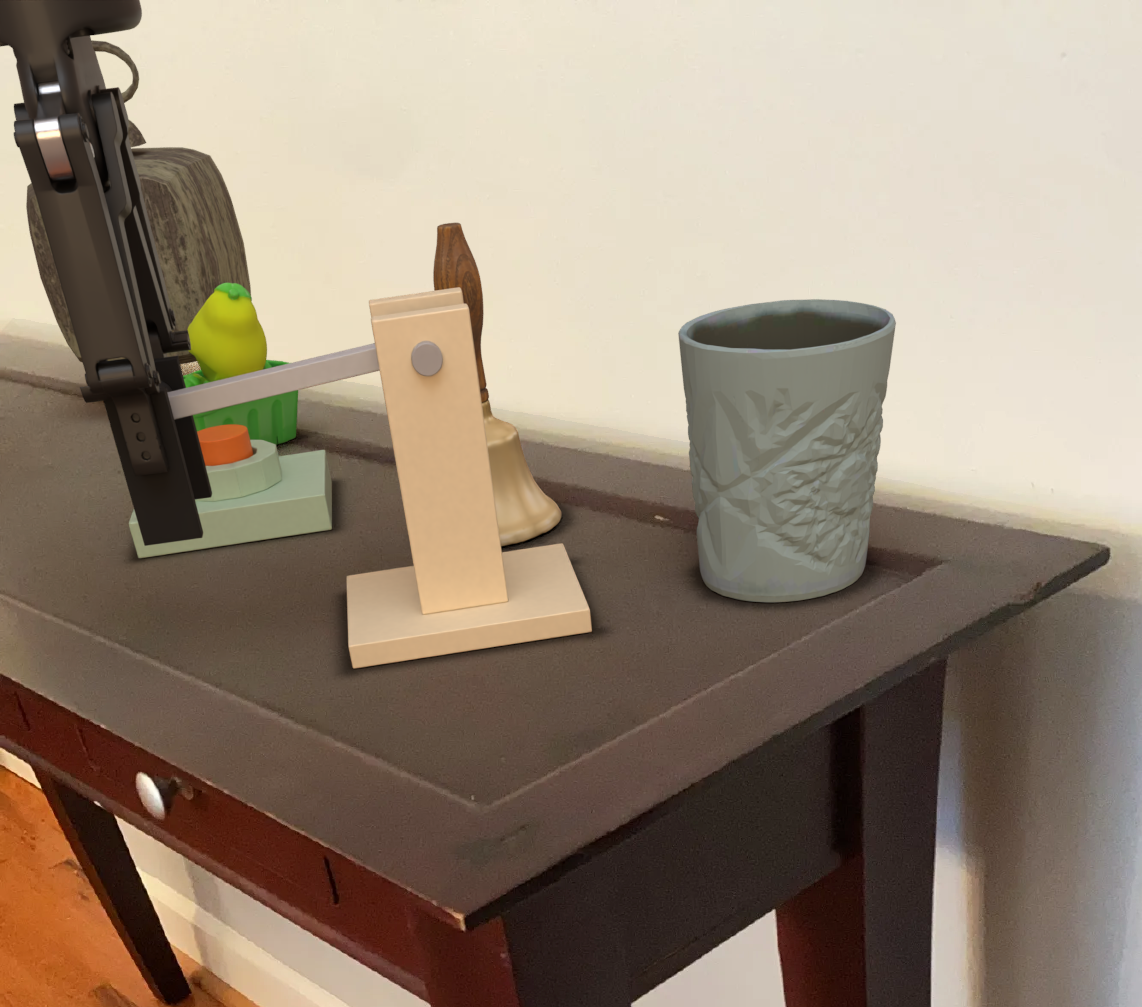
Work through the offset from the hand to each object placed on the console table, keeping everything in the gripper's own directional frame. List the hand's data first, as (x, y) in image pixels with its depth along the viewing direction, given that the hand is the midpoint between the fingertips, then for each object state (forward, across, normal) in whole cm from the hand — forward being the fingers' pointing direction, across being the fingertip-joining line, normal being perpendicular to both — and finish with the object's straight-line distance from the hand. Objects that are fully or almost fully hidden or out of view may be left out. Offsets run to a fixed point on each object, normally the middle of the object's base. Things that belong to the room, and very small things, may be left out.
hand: (179, 517), depth 68 cm
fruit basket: (+7, +38, +1) cm, 39 cm away
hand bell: (+7, +13, -16) cm, 22 cm away
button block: (+7, +22, 0) cm, 23 cm away
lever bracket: (+7, 0, -13) cm, 15 cm away
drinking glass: (+7, -1, -30) cm, 31 cm away
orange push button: (+3, +22, 0) cm, 22 cm away
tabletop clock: (+7, +56, +7) cm, 57 cm away
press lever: (-4, 0, -7) cm, 8 cm away
